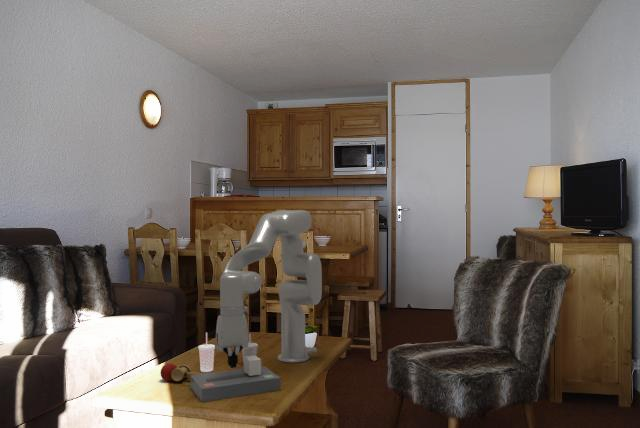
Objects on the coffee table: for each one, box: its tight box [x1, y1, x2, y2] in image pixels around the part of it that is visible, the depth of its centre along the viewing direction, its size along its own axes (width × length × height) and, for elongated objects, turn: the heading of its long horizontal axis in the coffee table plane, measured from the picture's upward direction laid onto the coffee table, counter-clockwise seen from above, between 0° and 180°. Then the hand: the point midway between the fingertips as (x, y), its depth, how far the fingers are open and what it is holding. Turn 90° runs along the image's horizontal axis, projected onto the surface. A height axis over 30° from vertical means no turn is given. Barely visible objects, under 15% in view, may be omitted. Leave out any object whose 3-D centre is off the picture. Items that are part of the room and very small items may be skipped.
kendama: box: [160, 362, 207, 382], centre depth 190 cm, size 8×6×18 cm
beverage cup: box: [197, 332, 216, 373], centre depth 203 cm, size 6×6×14 cm
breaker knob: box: [243, 355, 262, 376], centre depth 183 cm, size 4×6×5 cm, turn 26°
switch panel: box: [189, 365, 281, 403], centre depth 182 cm, size 26×19×4 cm
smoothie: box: [241, 332, 259, 363], centre depth 202 cm, size 6×6×14 cm
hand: (232, 366), depth 180 cm, fingers closed
